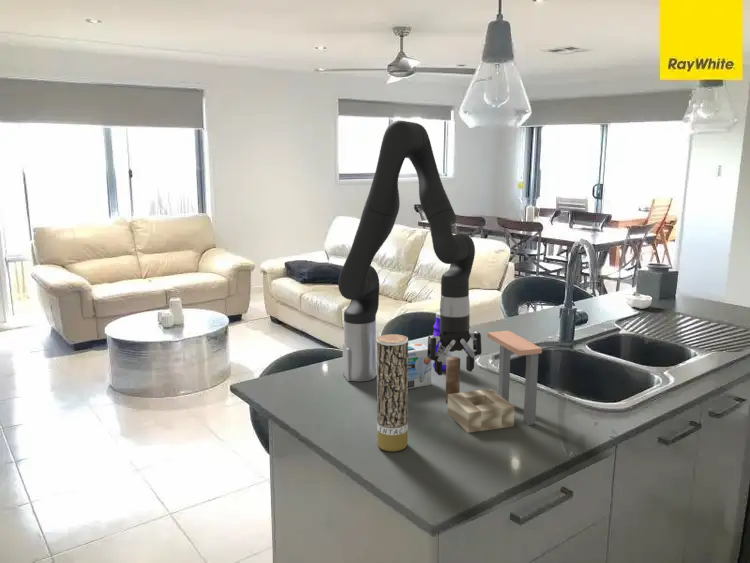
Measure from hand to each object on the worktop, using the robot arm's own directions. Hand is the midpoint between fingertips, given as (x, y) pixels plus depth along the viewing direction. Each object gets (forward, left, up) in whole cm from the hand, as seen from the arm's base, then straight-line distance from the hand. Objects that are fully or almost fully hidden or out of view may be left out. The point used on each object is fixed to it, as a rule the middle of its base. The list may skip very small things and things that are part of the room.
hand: (454, 372), depth 160 cm
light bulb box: (-6, +16, -9) cm, 19 cm away
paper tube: (-23, -19, -8) cm, 31 cm away
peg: (0, 0, -8) cm, 8 cm away
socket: (+2, -12, -8) cm, 15 cm away
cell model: (+117, +71, -9) cm, 137 cm away
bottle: (+8, +26, -8) cm, 29 cm away
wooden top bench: (+11, -11, -8) cm, 17 cm away
